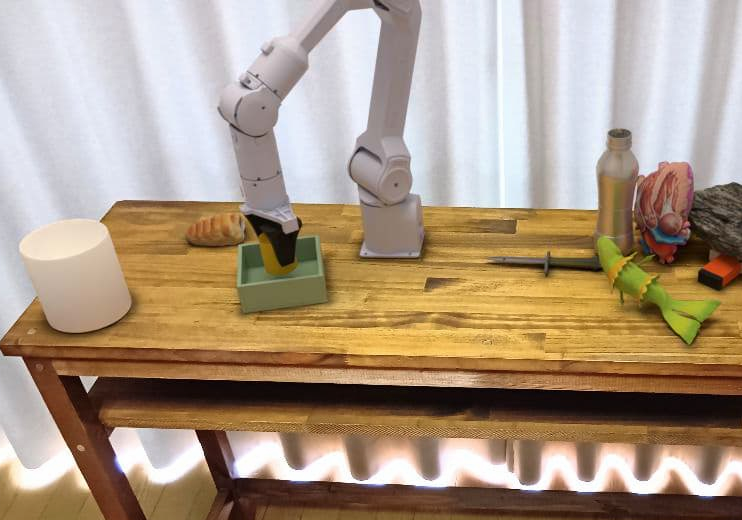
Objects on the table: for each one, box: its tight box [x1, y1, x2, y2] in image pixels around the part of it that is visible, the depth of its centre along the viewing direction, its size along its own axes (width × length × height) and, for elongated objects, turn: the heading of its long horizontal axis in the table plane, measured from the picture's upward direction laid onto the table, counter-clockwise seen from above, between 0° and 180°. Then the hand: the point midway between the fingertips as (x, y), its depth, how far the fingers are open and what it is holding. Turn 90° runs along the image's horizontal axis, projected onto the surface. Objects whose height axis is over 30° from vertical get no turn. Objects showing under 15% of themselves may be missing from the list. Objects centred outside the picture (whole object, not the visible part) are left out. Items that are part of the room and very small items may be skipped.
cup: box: [18, 218, 133, 334], centre depth 129 cm, size 12×12×12 cm
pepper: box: [257, 233, 298, 275], centre depth 133 cm, size 5×5×7 cm
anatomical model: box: [633, 160, 695, 265], centre depth 137 cm, size 11×6×15 cm
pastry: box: [184, 211, 246, 247], centre depth 147 cm, size 9×7×4 cm
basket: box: [236, 234, 329, 314], centre depth 136 cm, size 12×12×5 cm
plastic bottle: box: [592, 127, 640, 258], centre depth 136 cm, size 6×7×20 cm
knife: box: [483, 250, 602, 275], centre depth 139 cm, size 19×2×5 cm
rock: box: [687, 181, 742, 261], centre depth 136 cm, size 12×16×6 cm
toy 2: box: [697, 247, 742, 291], centre depth 137 cm, size 8×4×15 cm
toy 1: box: [597, 236, 723, 346], centre depth 128 cm, size 8×20×8 cm, turn 49°
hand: (279, 256), depth 134 cm, fingers closed on pepper, 5 cm apart
